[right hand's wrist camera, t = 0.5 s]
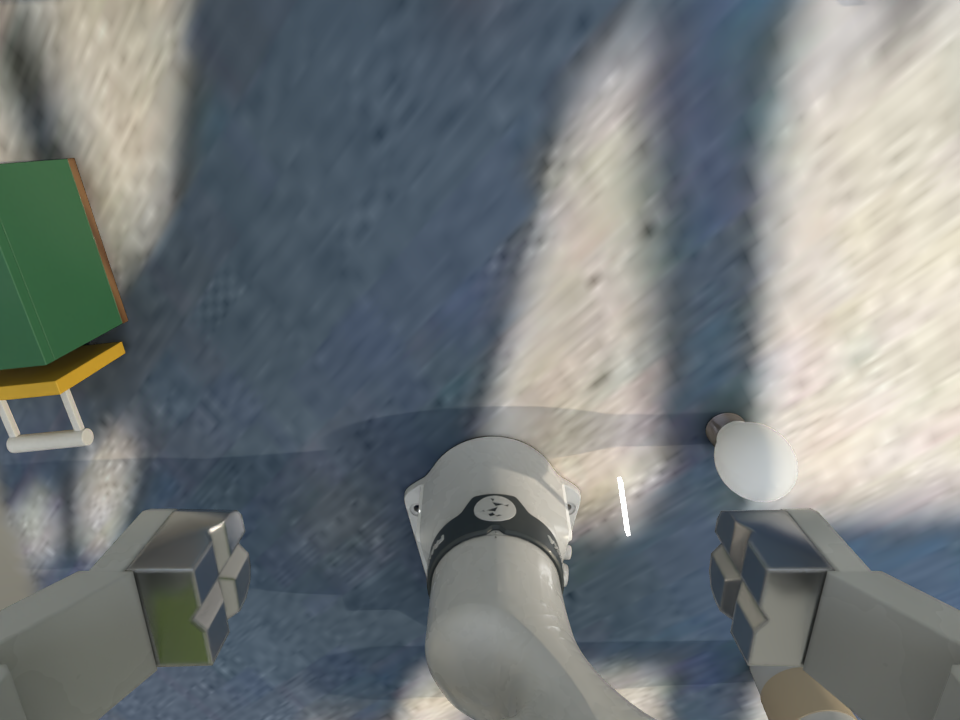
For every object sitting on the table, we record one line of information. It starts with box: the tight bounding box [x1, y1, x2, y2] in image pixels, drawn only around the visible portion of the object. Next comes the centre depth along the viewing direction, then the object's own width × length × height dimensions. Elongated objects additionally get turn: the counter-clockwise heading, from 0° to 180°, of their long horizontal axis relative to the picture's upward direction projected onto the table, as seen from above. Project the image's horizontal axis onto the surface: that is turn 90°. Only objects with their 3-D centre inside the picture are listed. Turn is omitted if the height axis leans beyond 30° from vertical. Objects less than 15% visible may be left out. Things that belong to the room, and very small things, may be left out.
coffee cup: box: [749, 665, 857, 720], centre depth 66 cm, size 9×9×15 cm
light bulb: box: [706, 413, 798, 502], centre depth 57 cm, size 7×7×11 cm
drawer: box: [0, 342, 125, 453], centre depth 53 cm, size 20×10×10 cm, turn 6°
